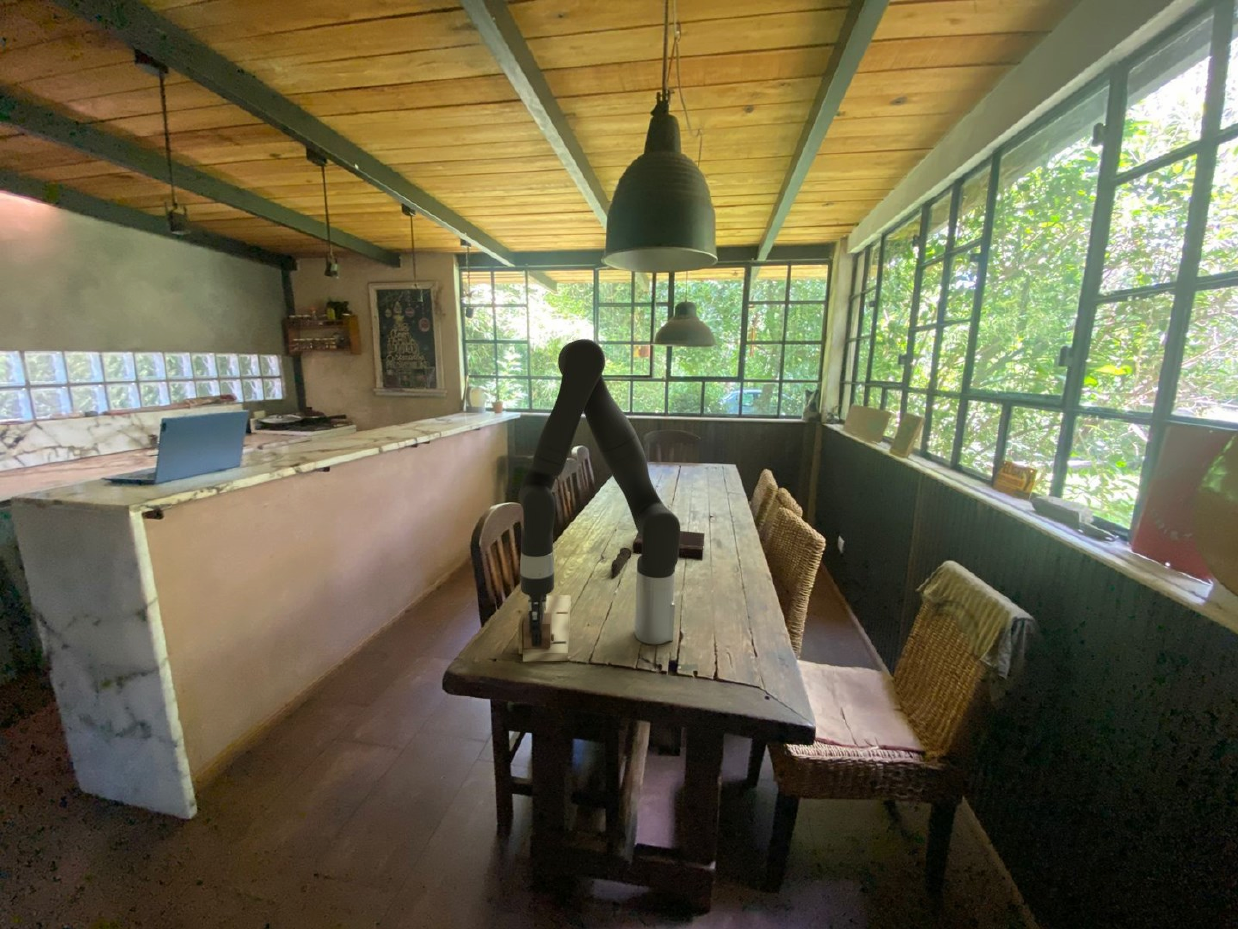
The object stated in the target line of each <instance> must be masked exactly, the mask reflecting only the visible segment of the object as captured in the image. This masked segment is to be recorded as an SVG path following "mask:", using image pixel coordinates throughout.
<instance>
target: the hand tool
mask: <svg viewBox="0 0 1238 929" xmlns="http://www.w3.org/2000/svg"><path fill="white" fill-rule="evenodd" d="M631 557H632V550H631V549H630V548H628V547H621V548H620V549H619V553H618V554H617V555H616V558H615V559H613V560H612V563H611V578H612V579H615V578H616V577H617V576H618V575H619V574H621V571H622V568H623V567H624V566H625V563H626V562H628V559H630V558H631Z"/></svg>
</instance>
